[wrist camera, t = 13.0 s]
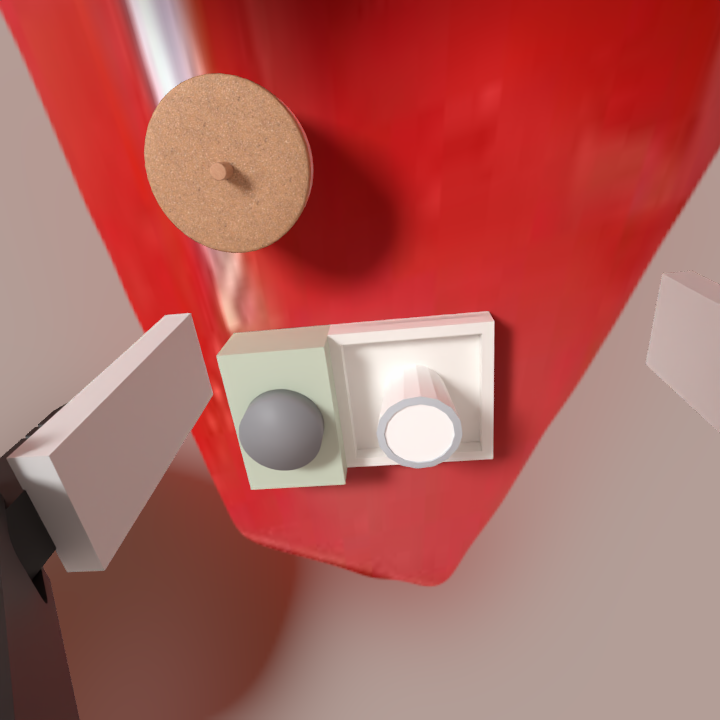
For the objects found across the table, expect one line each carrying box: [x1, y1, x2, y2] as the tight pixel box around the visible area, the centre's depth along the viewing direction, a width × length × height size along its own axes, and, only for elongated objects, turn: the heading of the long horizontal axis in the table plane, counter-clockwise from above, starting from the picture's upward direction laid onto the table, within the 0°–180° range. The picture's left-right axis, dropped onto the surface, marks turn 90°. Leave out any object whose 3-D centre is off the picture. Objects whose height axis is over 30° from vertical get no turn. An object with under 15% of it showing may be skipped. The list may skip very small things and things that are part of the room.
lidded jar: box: [144, 73, 314, 253], centre depth 33 cm, size 11×11×9 cm
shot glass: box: [376, 365, 463, 468], centre depth 41 cm, size 7×7×7 cm
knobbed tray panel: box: [216, 311, 494, 490], centre depth 43 cm, size 14×23×7 cm, turn 96°
